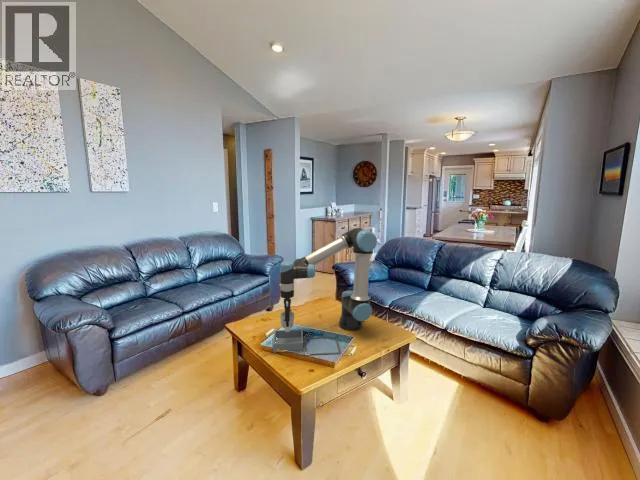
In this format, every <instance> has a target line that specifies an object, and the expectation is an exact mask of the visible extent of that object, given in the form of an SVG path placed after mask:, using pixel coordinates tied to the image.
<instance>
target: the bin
mask: <svg viewBox="0 0 640 480" xmlns="http://www.w3.org/2000/svg"><path fill="white" fill-rule="evenodd" d="M273 332H274V333H273V337H272V353H273V354H275V353H276V350H277V349H279V350H289V351H302V352H304V336H303V335H304V334H303V333H304V332H303V329H302V328H301V329H298V328H297V329H290V332H285V329H276V330H274V331H273ZM276 337H277V338H278V339H277V340H276ZM275 342H276V343H275Z"/></svg>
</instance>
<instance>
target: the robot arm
mask: <svg viewBox="0 0 640 480" xmlns="http://www.w3.org/2000/svg"><path fill="white" fill-rule="evenodd" d="M377 239H378V238H377V237H376V235H375V233H374V232H372V231H370V230H368V229H364V228H360V227H356V228H352V229H350V230H347V231H346V232H344V233H342V234H341V235H339V237H338V238H337V239H335V240H333V241H331V242H329V243H327V244H325V245H324V246H322V247H320V248H318V249H316V250H315V251H312V252H311V253H309V254H307V255H305V256H303V257H300V258H296V259H294V260H293V261H284V262H281V263H280V265H279V266H280V267H279V277H280V278H279V279H280V284H279V285H278V286H280V298H283V304H284V306H283V307H284V311H285V320H284V321H285V328H284V330H285V332H290V330H291V328H290V311H292V309H291V304H292V298H295V297H294V296H295V280H299V279H300V280H301V279H311V278H315V276H316V267H315V266H317V265H318V264H319V263H321V262H323V261H326V260H327V259H328V258H331V257H333V256H335V255H336V254H338V253H340V252H342V251H344V250H349V249H350V248H352V253H353V255H354V257H355V258H354V271H353V272H354V273H353V290H344V291H343V292H342V293H341V315H340V317H339V321H338V326H339V327H340V329H343V330H346V331H357V330H361V328H362V327H363V322H365V321H367V320H368V319H369V318H371V316H372V313H373V307H372V305H371V302H370V300H371V298H370V296H369V294H368V293H369V277H370V264H371V262H370V259H371V256H372V255H373V253H374V249H375V248H376V246H377V244H378V240H377Z"/></svg>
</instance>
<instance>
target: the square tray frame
mask: <svg viewBox="0 0 640 480" xmlns="http://www.w3.org/2000/svg"><path fill="white" fill-rule="evenodd" d="M332 337H333V336H315V337H313V336H312V337H303V345H304V351H303V355H304V354H310V355H309V356H322V355H323V356H325V355H341V354H342V351H341V346H340V344H339V340H338V338H337V339H336V338H334V340H335V342H336V346H337V350H338V352H323V353H322V352H321V353H320V352H318V353H316V352H315V353H309V352H308V351H307V349H308V348H307V340H318V339H333V338H332ZM340 353H341V354H340Z"/></svg>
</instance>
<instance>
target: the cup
mask: <svg viewBox="0 0 640 480" xmlns="http://www.w3.org/2000/svg"><path fill="white" fill-rule="evenodd" d="M279 317H280V323H281V327H282V328H283V329H285V321H284V320H285V310H283V311H281V312H280V314H279ZM294 318H295V312H294V311H292V310H291V311H290V329H291V328H292V327H293V326H294V323H295V322H294V320H295V319H294Z"/></svg>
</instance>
